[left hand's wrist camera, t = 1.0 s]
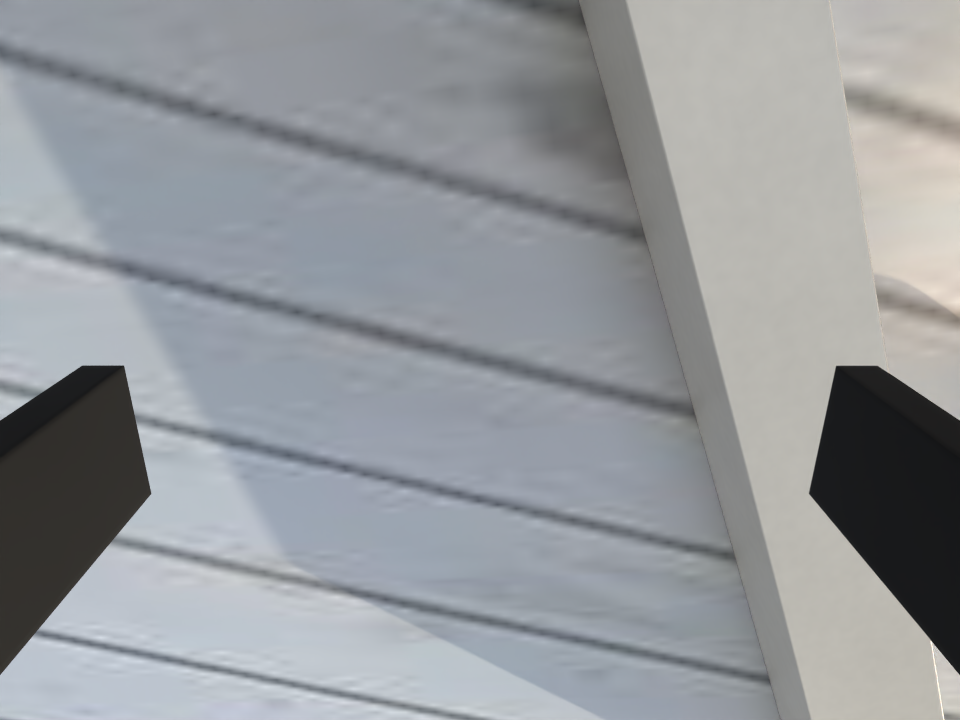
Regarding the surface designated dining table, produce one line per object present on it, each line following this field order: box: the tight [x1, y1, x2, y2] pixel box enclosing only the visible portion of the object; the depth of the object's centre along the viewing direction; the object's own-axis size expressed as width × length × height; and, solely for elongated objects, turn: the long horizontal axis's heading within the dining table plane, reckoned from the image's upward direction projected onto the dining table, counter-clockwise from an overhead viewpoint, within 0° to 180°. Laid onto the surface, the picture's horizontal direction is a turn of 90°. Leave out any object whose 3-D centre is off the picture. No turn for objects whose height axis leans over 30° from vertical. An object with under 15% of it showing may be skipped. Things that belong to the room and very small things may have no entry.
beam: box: [579, 0, 944, 720], centre depth 32 cm, size 56×6×8 cm, turn 20°
